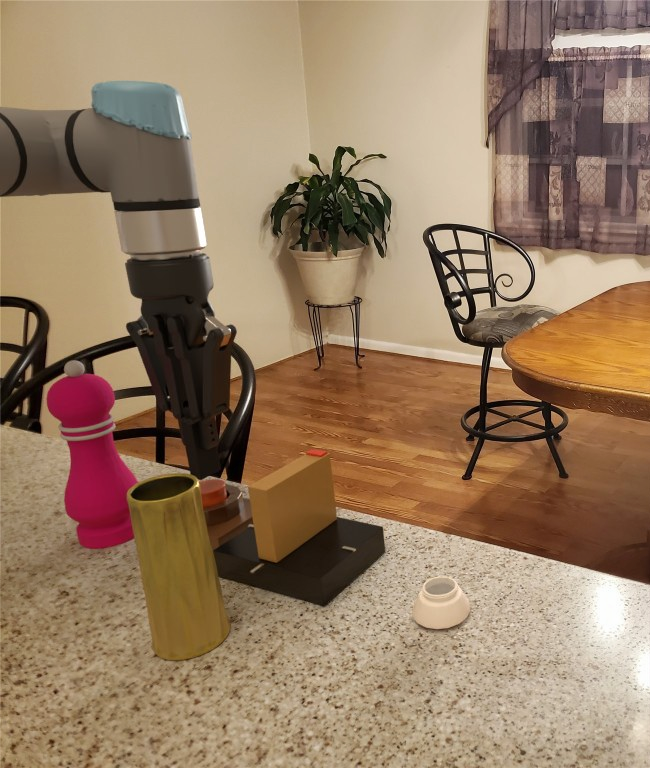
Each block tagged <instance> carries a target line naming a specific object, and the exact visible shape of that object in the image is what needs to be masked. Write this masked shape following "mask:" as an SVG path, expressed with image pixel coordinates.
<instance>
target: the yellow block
mask: <svg viewBox="0 0 650 768" xmlns="http://www.w3.org/2000/svg"><path fill="white" fill-rule="evenodd" d="M333 478H334V477H333V471H332V461H331V452H328V451H326V450H321V449H315V448H311V449H309V450H308V451H306V452H305V454H304V455H301V456H300V457H298V458H296V459H294V460H293V461H290V462H289V463H287V464H285V465H284V466H282V467H280V468H278V469H277V470H274V471H273V472H271V473H269V474H268V475H266V476H264V477H262V478H261V479H258V480H256V481H255V482H254V483H252V484H250V485H248V486H247V491H248V496H249V499H250V504H251V510H252V517H253V523H254V530H255V536H256V543H257V549H258V556H259V558H260V559H264V560H268V561H271V562H275V563H277V562H279V561H280V560H281V559H283V558H284V557H286V556H287V555H288V554H290V553H291V552H292V551H294V550H295V549H297V548H298V547H299V546H301V545H302V544H303V543H305V542H306V541H308V540H309V539H310V538H312V537H313V536H314V535H316V534H317V533H319V532H320V531H321V530H323V529H324V528H325V527H327V526H328V525H330V524H331V523H332V522H334V521H335V520H336V519H337V517H338V515H337V513H338V512H337V513H336V509H337V505H336V496H335V488H334V479H333Z"/></svg>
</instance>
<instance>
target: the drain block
mask: <svg viewBox="0 0 650 768" xmlns="http://www.w3.org/2000/svg"><path fill="white" fill-rule="evenodd" d="M225 486H226V492H227V499H226V500H224V501H222V502H221V503H218V504H214V505H211V506H204V507H203V510H204V515H205V520H206V526H207V532H208V536H209V539H210V543H211V546H212V549H213V550H214V549H216V548H218V547H219V546H221V545H222V544H224V543H225V542H227V541H228V540H230V539H232V538H233V537H235V536H236V535H238V534H239V533H241V532H242V531H244V530H246V529H247V528H249V527H248V525H250V524H252V525H253V524H254V523H253V517H252V510H251V504H250V498H247V497H243V491H242V490H241V489H240V488H239V487H238V486H237V485H231V484H227V483H225Z"/></svg>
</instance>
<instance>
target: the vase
mask: <svg viewBox="0 0 650 768" xmlns="http://www.w3.org/2000/svg"><path fill="white" fill-rule="evenodd" d="M199 482H200V480H198V479H197V478H196V477H195V476H193V475H190V473H183V472H175V473H166V474H165V473H164V474H160V475H157V476H152V477H148V478H146V479H143V480H141V481H138V483H137V484H135V485H134V486H133V487H131V488H130V489H129V490H128V492H127V502H128V505H129V510H130V515H131V521H132V527H133V532H134V542H135V548H136V554H137V559H138V565H139V571H140V577H141V582H142V588H143V592H144V593H143V594H144V599H145V603H146V610H147V617H148V623H149V629H150V635H151V648H152V651H153V652H154V654H155V655H156V656H157V657H158V658H160V659H163V660H167V661H187V660H190V659H194V658H197V657H200V656H202V655H205V654H207V653H210V652H211V651H212V650H214V649H215V648H218V647H219V646H220V645H221V644H222V643H223V642H224V641H225V639H227V637H228V635H229V633H230V631H231V622H230V619H229V617H228V615H227V612H226V606H225V601H224V596H223V591H222V586H221V582H220V578H219V577H218V572H217V567H216V562H215V558H214V553H213V549H212V546H211V543H210V539H209V536H208V532H207V526H206V520H205V515H204V510H203V505H202V498H201V489H200V484H199Z"/></svg>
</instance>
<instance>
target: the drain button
mask: <svg viewBox="0 0 650 768" xmlns="http://www.w3.org/2000/svg"><path fill="white" fill-rule="evenodd" d="M199 484H200V489H201V498H202V505H203V507H204V506H211V505H214V504H218V503H221V502H222V501H224V500H226V499H227V492H226V486H225V484H226V482H225V481H224V480H223V479H216V478H213V479H205V480H200V481H199Z"/></svg>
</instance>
